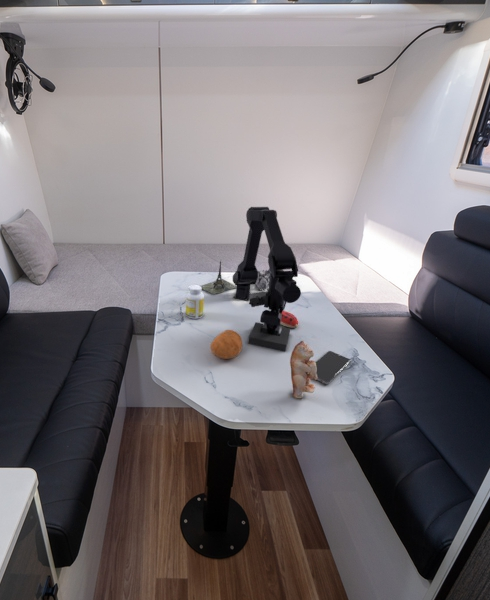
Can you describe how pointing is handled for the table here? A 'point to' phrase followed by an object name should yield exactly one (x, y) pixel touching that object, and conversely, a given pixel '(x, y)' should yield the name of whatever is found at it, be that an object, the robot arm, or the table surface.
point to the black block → (276, 332)
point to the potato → (227, 344)
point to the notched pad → (269, 338)
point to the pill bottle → (194, 302)
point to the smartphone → (330, 366)
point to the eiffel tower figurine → (218, 285)
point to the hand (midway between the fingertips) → (271, 329)
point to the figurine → (302, 370)
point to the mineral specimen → (263, 279)
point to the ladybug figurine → (289, 320)
